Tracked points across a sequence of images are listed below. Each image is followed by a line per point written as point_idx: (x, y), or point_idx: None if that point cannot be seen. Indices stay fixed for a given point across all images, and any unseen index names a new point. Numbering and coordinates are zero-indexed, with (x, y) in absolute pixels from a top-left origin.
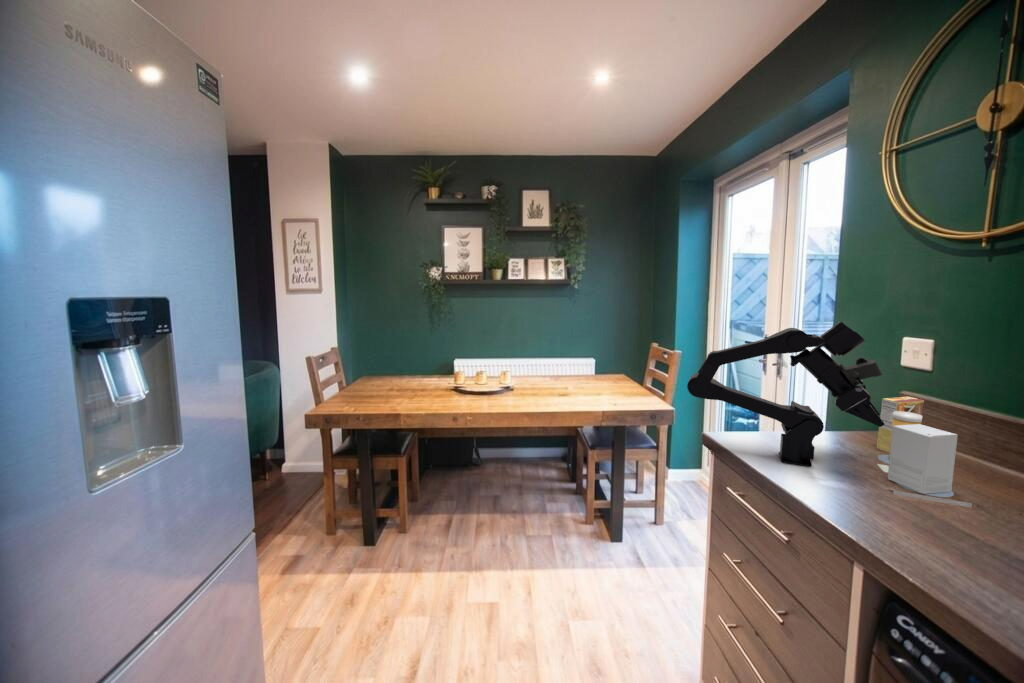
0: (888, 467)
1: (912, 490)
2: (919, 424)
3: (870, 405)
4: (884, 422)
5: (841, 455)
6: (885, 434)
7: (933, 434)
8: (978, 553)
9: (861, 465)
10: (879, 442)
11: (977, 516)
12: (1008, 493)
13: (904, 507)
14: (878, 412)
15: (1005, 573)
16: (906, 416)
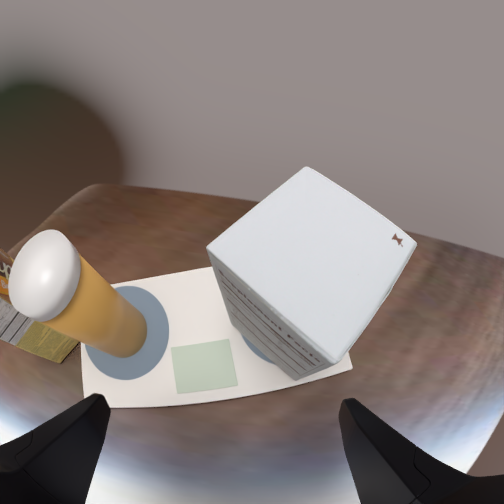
0: (189, 370)
1: None
2: (219, 250)
3: (444, 480)
4: (8, 331)
5: (120, 450)
6: (35, 339)
7: (384, 226)
8: (466, 271)
9: (171, 421)
10: (46, 354)
11: None
12: (187, 197)
13: (400, 349)
14: (96, 400)
15: (482, 257)
16: (64, 278)
